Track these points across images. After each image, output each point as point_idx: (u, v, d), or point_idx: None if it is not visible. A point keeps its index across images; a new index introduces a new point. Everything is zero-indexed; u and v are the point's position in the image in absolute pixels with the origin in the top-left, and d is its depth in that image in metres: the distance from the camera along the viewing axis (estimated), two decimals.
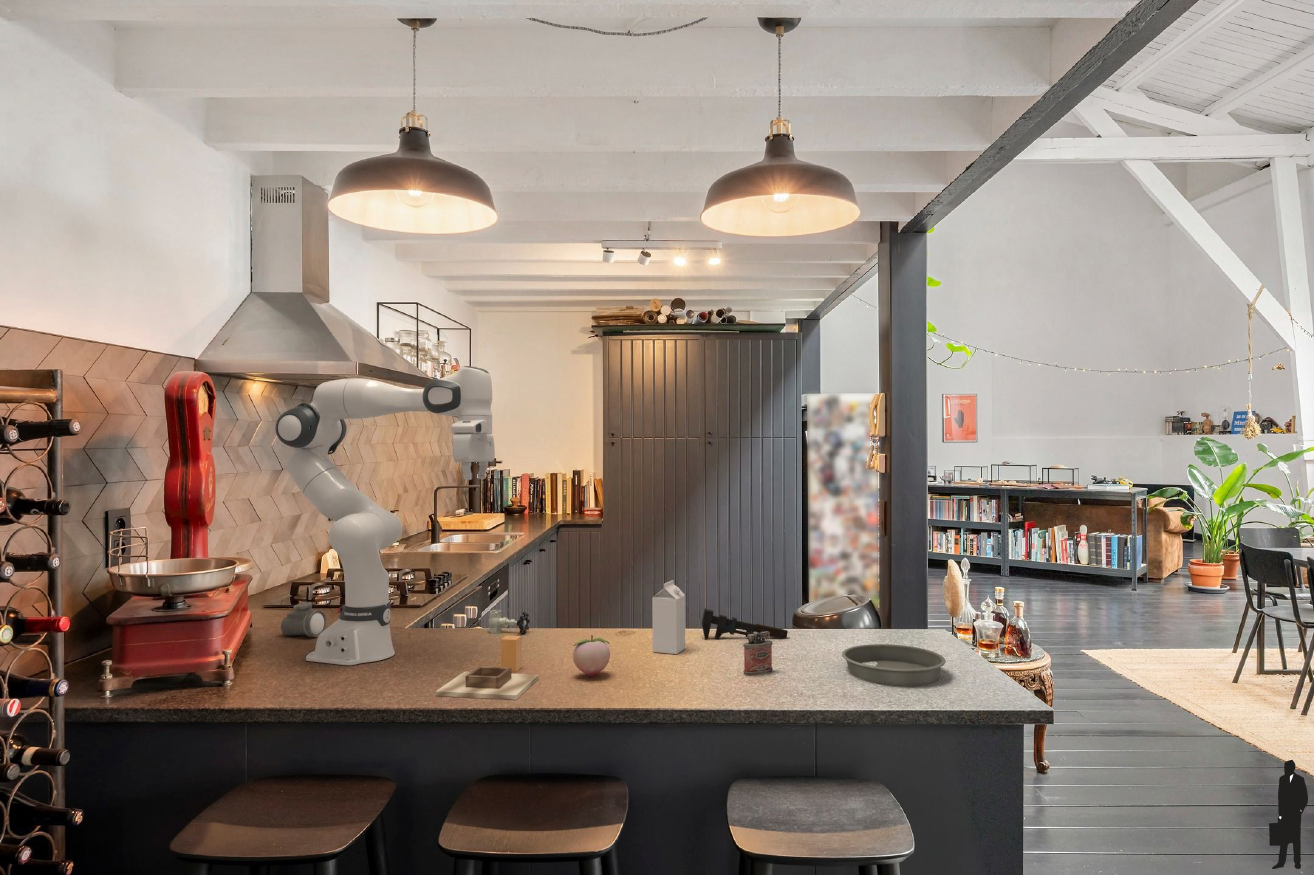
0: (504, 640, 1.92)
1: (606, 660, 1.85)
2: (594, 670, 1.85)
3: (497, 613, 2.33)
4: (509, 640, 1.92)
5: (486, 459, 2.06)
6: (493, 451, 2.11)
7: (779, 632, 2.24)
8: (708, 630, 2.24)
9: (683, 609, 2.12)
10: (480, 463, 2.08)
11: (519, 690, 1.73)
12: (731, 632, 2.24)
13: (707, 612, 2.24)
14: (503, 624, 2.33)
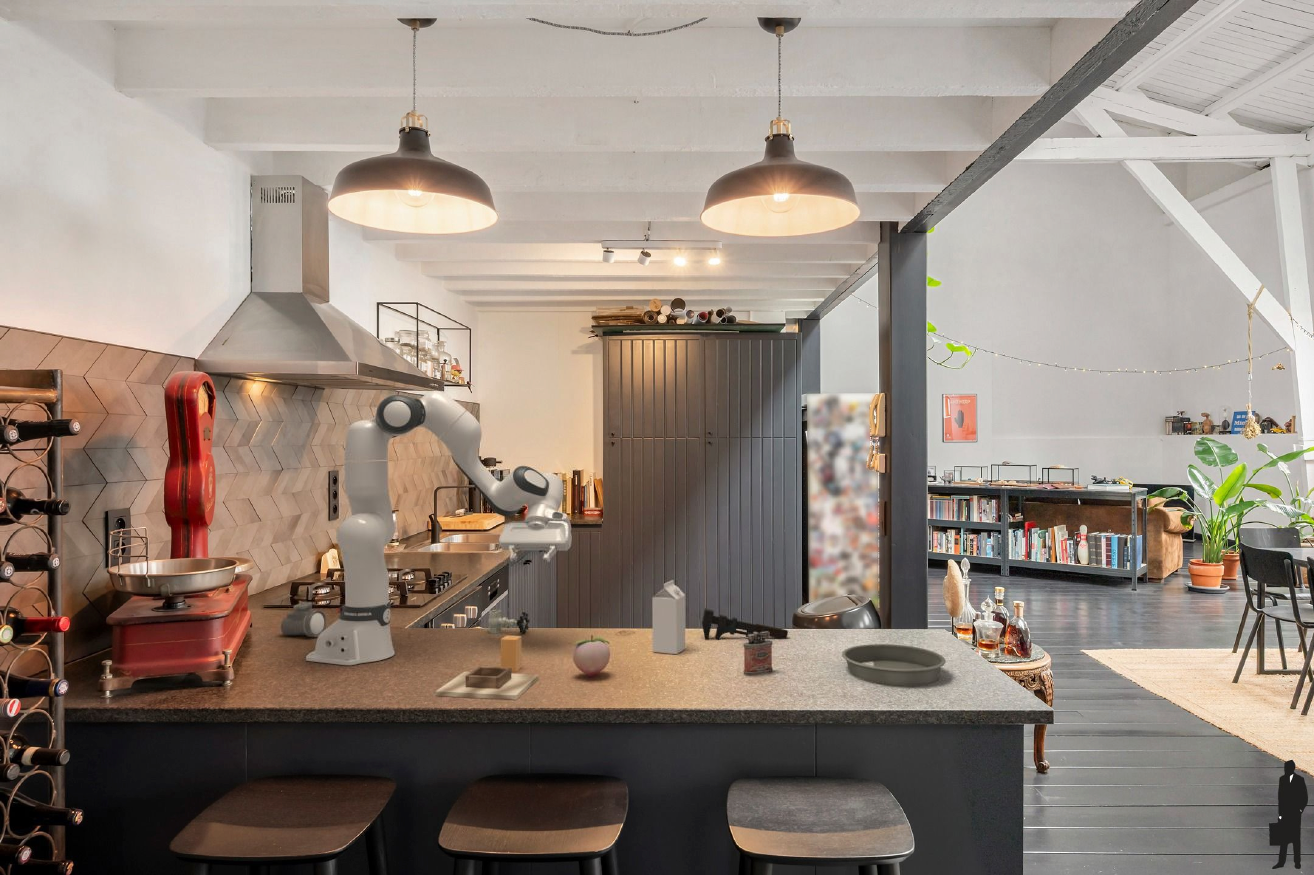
0: (504, 640, 1.92)
1: (606, 660, 1.85)
2: (594, 670, 1.85)
3: (497, 613, 2.33)
4: (509, 640, 1.92)
5: None
6: None
7: (779, 632, 2.24)
8: (708, 630, 2.24)
9: (683, 609, 2.12)
10: (514, 547, 2.12)
11: (519, 690, 1.73)
12: (731, 632, 2.24)
13: (707, 612, 2.24)
14: (503, 624, 2.33)
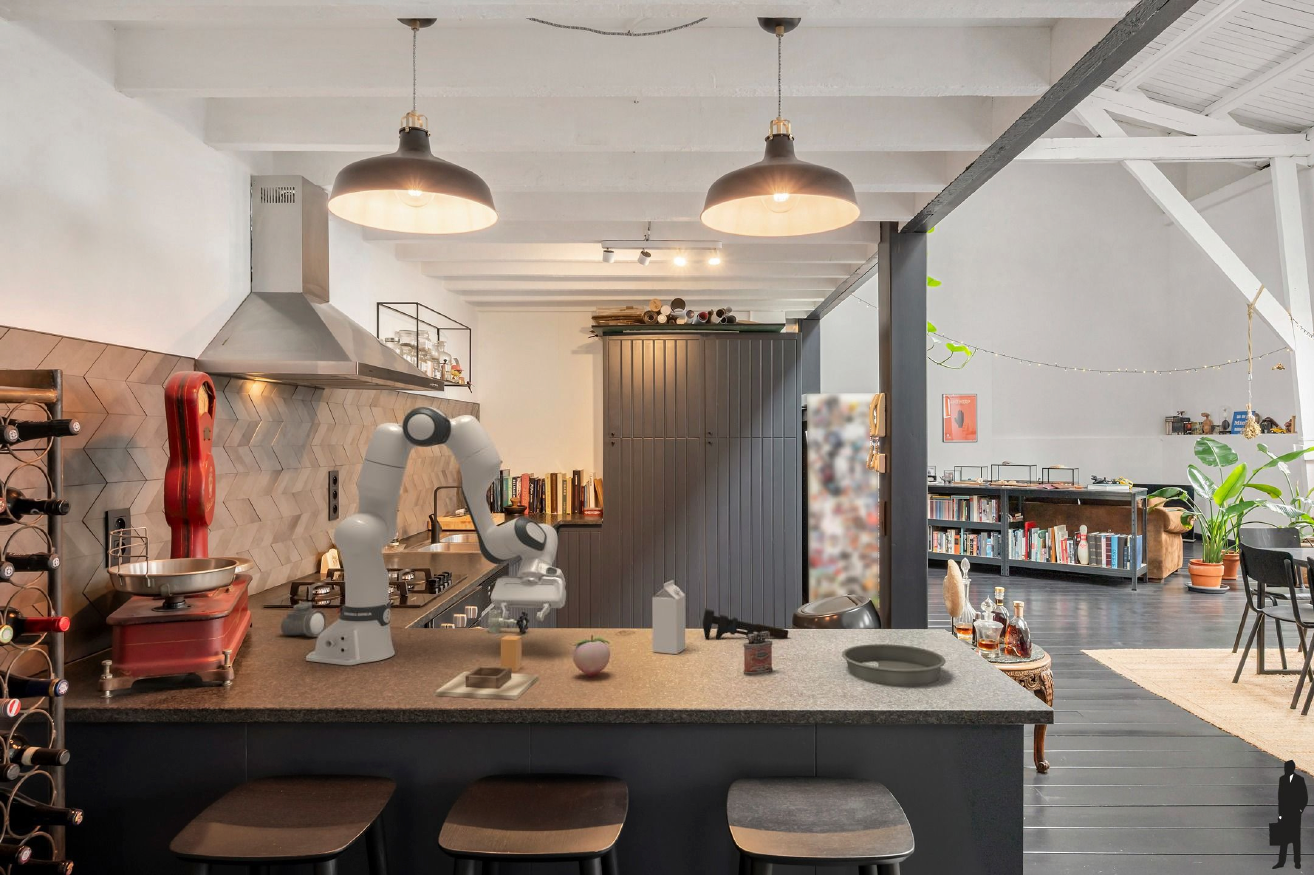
0: (504, 640, 1.92)
1: (606, 660, 1.85)
2: (594, 670, 1.85)
3: (496, 613, 2.33)
4: (509, 640, 1.92)
5: None
6: None
7: (780, 632, 2.24)
8: (709, 630, 2.24)
9: (683, 609, 2.12)
10: (507, 604, 2.06)
11: (519, 690, 1.73)
12: (732, 632, 2.24)
13: (708, 612, 2.24)
14: (502, 624, 2.33)
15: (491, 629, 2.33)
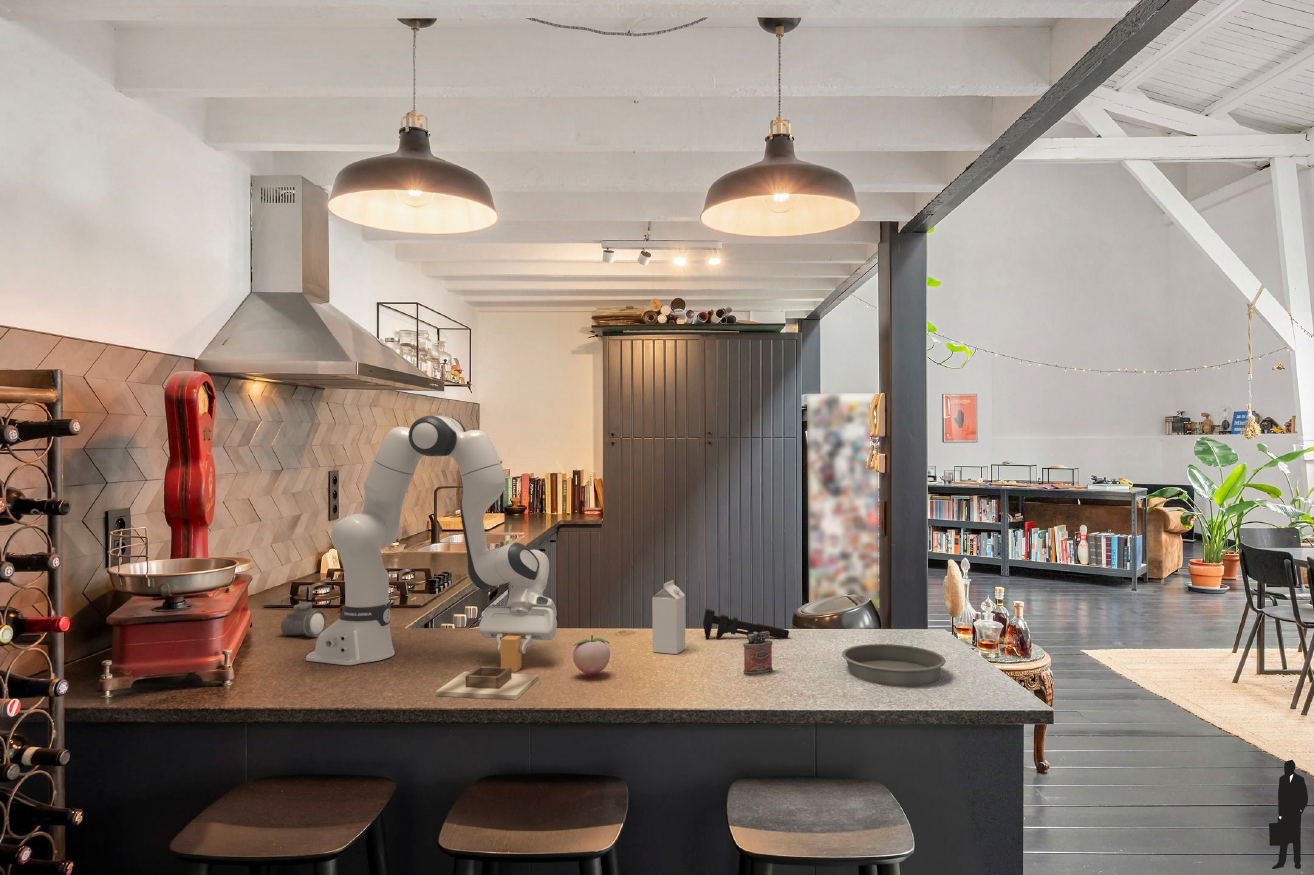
0: (504, 640, 1.92)
1: (606, 660, 1.85)
2: (594, 670, 1.85)
3: None
4: (509, 640, 1.92)
5: None
6: None
7: (780, 632, 2.24)
8: (709, 630, 2.24)
9: (683, 609, 2.12)
10: (502, 635, 1.97)
11: (519, 690, 1.73)
12: (732, 632, 2.24)
13: (708, 612, 2.24)
14: None
15: None
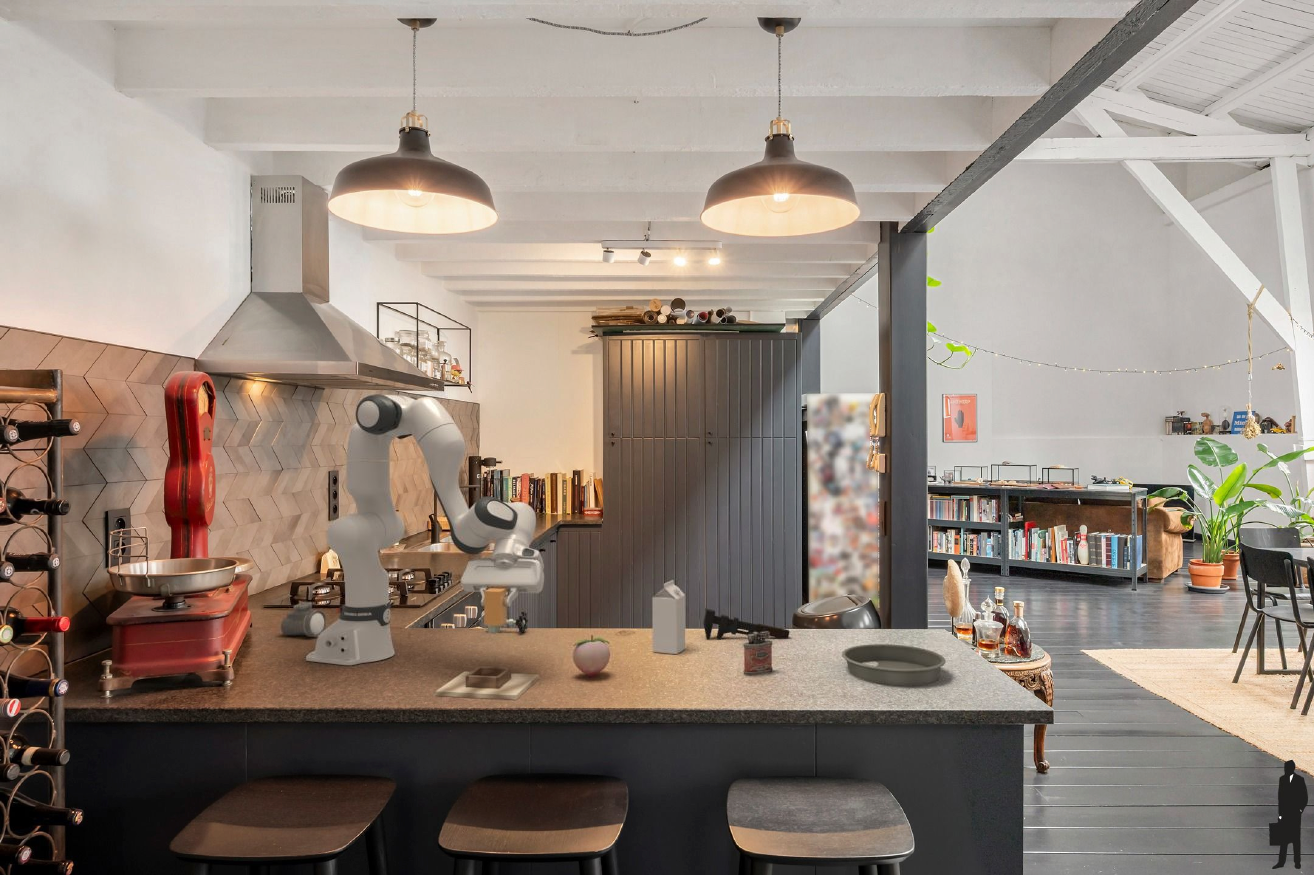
0: (488, 592, 1.81)
1: (606, 660, 1.85)
2: (594, 670, 1.85)
3: None
4: (493, 592, 1.81)
5: None
6: None
7: (781, 632, 2.24)
8: (710, 630, 2.24)
9: (683, 609, 2.12)
10: (486, 589, 1.86)
11: (519, 690, 1.73)
12: (733, 632, 2.24)
13: (709, 612, 2.24)
14: None
15: (490, 629, 2.33)
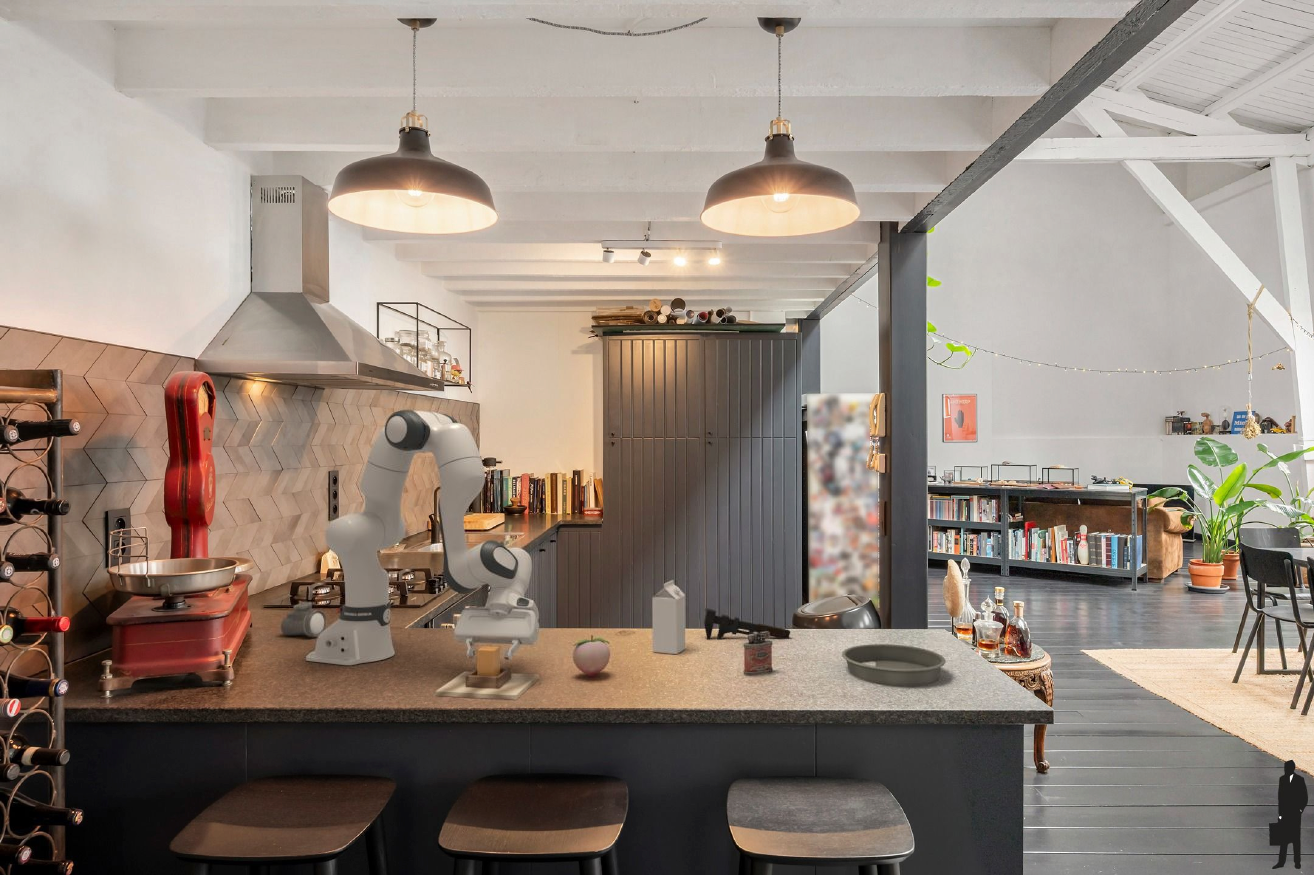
0: (481, 651, 1.77)
1: (606, 660, 1.85)
2: (594, 670, 1.85)
3: None
4: (486, 651, 1.77)
5: None
6: None
7: (781, 632, 2.24)
8: (710, 630, 2.24)
9: (683, 609, 2.12)
10: (472, 640, 1.82)
11: (519, 690, 1.73)
12: (733, 632, 2.24)
13: (709, 612, 2.24)
14: None
15: None
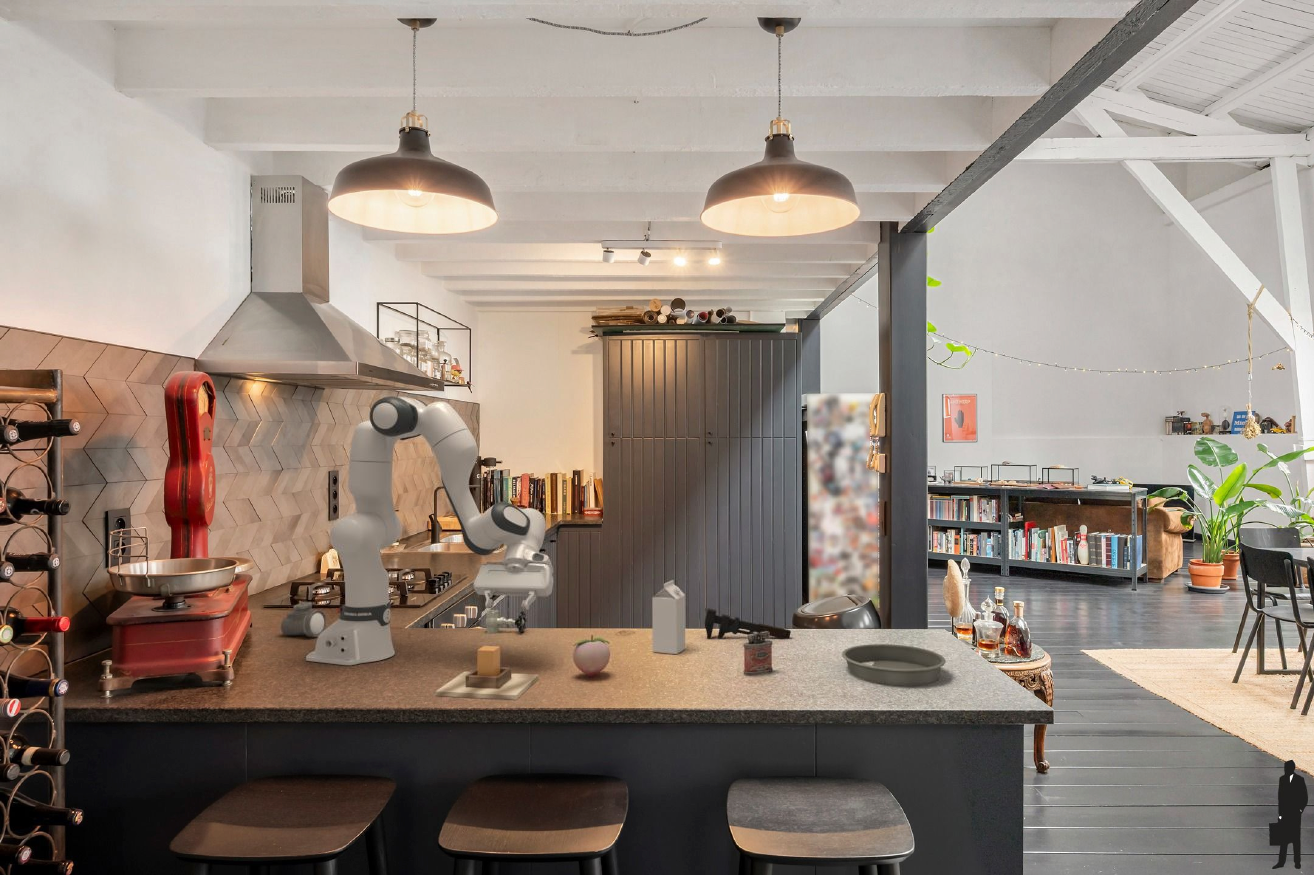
0: (481, 651, 1.77)
1: (606, 660, 1.85)
2: (594, 670, 1.85)
3: (494, 613, 2.33)
4: (486, 651, 1.77)
5: None
6: None
7: (782, 632, 2.24)
8: (711, 629, 2.24)
9: (683, 609, 2.12)
10: (490, 591, 1.94)
11: (519, 690, 1.73)
12: (734, 632, 2.25)
13: (710, 612, 2.25)
14: (501, 623, 2.33)
15: (489, 629, 2.33)
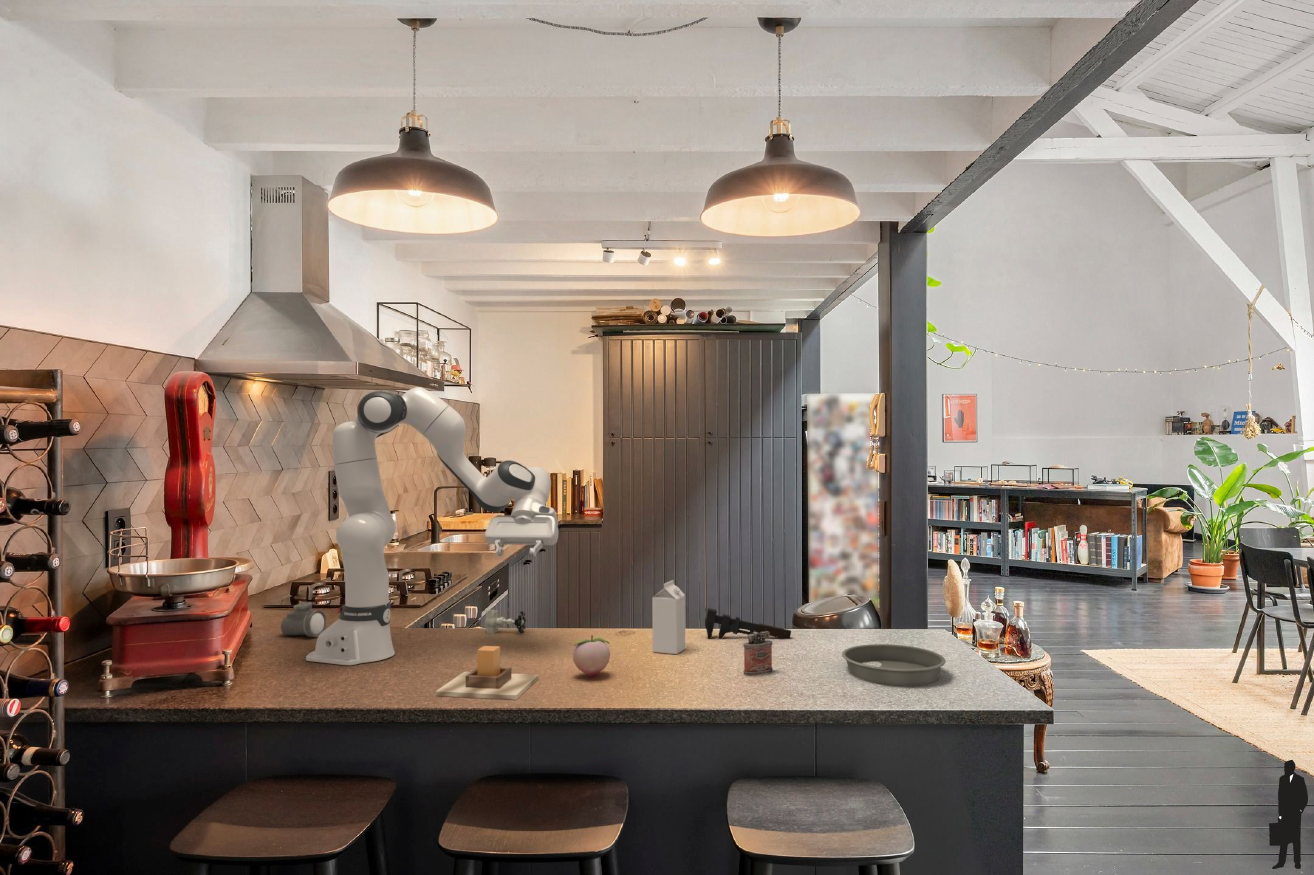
0: (481, 651, 1.77)
1: (606, 660, 1.85)
2: (594, 670, 1.85)
3: (494, 613, 2.33)
4: (486, 651, 1.77)
5: None
6: None
7: (782, 632, 2.24)
8: (711, 629, 2.25)
9: (683, 609, 2.12)
10: (500, 541, 2.10)
11: (519, 690, 1.73)
12: (734, 632, 2.25)
13: (710, 611, 2.25)
14: (500, 623, 2.33)
15: (489, 629, 2.33)
